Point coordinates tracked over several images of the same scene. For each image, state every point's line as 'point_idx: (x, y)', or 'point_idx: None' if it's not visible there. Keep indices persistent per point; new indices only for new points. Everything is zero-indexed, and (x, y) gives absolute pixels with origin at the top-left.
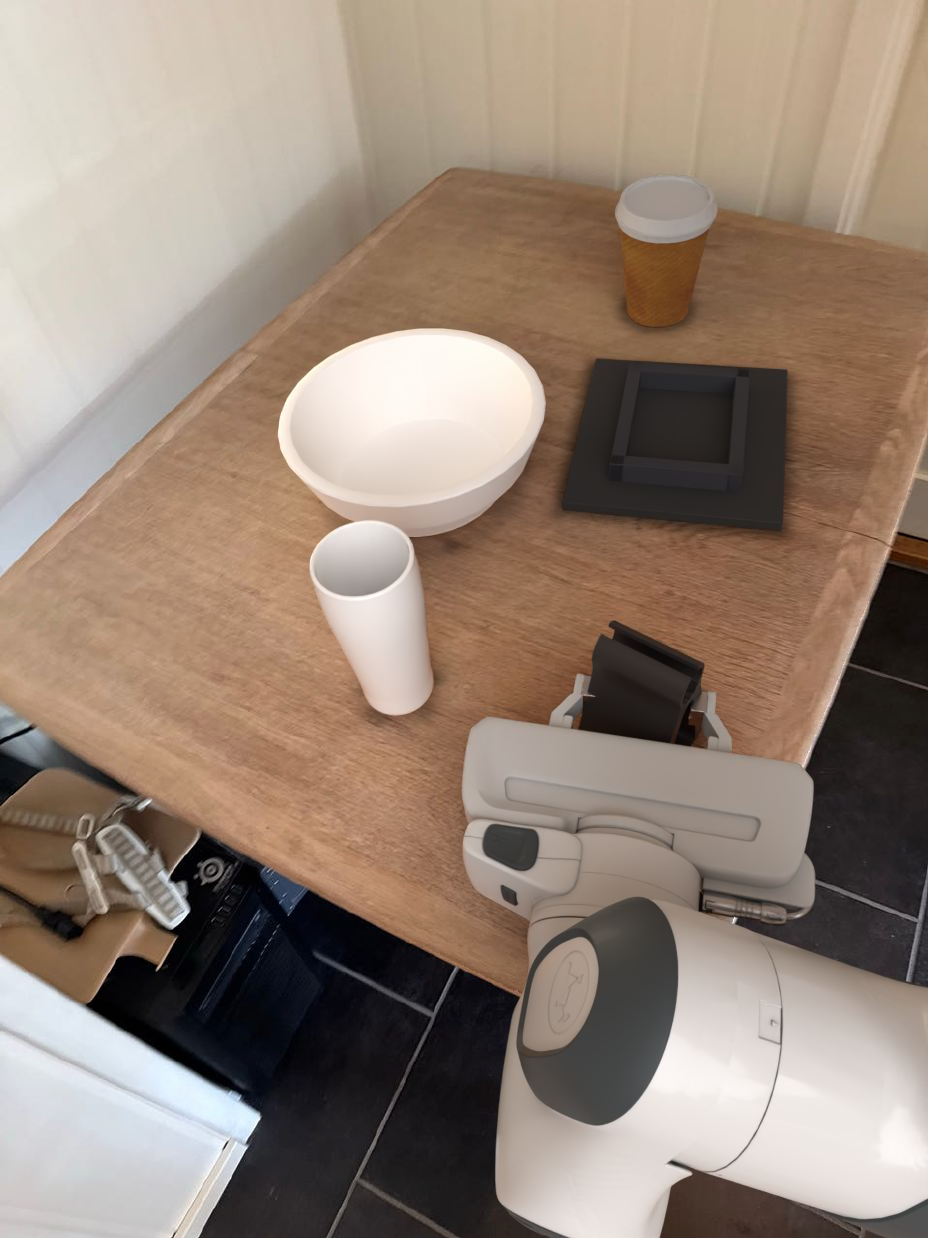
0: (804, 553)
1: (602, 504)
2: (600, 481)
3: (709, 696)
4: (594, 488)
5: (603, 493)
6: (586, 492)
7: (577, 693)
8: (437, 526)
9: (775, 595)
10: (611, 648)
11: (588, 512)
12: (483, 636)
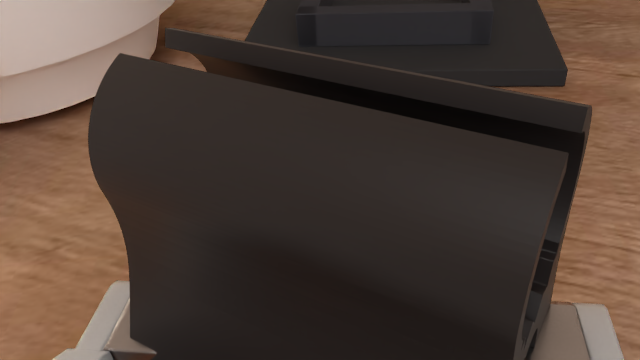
0: (613, 108)
1: None
2: (286, 48)
3: (585, 318)
4: None
5: None
6: None
7: (91, 346)
8: (8, 99)
9: (590, 163)
10: (154, 98)
11: None
12: (40, 266)
